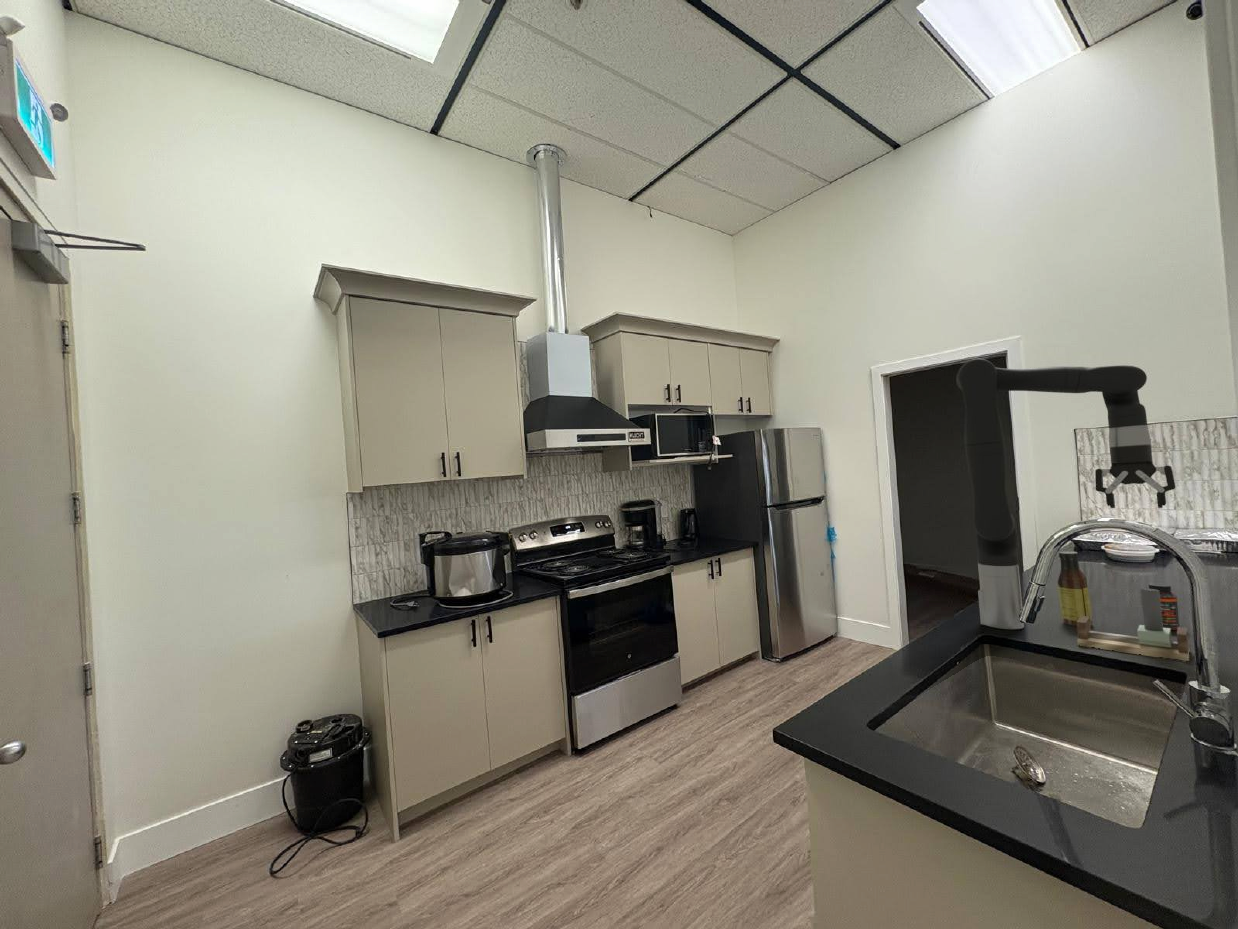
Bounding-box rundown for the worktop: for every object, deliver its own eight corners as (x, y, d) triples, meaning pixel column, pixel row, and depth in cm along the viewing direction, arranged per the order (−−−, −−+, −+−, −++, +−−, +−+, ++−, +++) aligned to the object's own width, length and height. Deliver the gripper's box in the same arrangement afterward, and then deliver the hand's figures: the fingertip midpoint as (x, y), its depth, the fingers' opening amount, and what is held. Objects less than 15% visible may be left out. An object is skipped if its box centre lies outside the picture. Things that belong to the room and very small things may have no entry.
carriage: (1138, 644, 117) (1133, 591, 118) (1141, 638, 121) (1135, 586, 122) (1170, 648, 113) (1164, 593, 114) (1171, 642, 117) (1166, 589, 118)
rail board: (1078, 645, 124) (1075, 622, 124) (1084, 637, 130) (1082, 615, 130) (1188, 661, 110) (1185, 636, 111) (1189, 651, 116) (1187, 627, 116)
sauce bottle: (1080, 621, 143) (1073, 550, 144) (1099, 627, 137) (1091, 552, 138) (1055, 621, 144) (1048, 551, 145) (1073, 628, 137) (1065, 554, 138)
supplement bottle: (1154, 630, 132) (1150, 586, 132) (1142, 624, 137) (1137, 582, 138) (1186, 631, 129) (1181, 587, 130) (1171, 625, 135) (1167, 582, 135)
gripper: (1089, 447, 134) (1096, 509, 133) (1169, 441, 123) (1176, 508, 122) (1094, 447, 138) (1100, 507, 138) (1171, 441, 128) (1178, 506, 127)
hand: (1136, 507), depth 130 cm, fingers open, 8 cm apart
